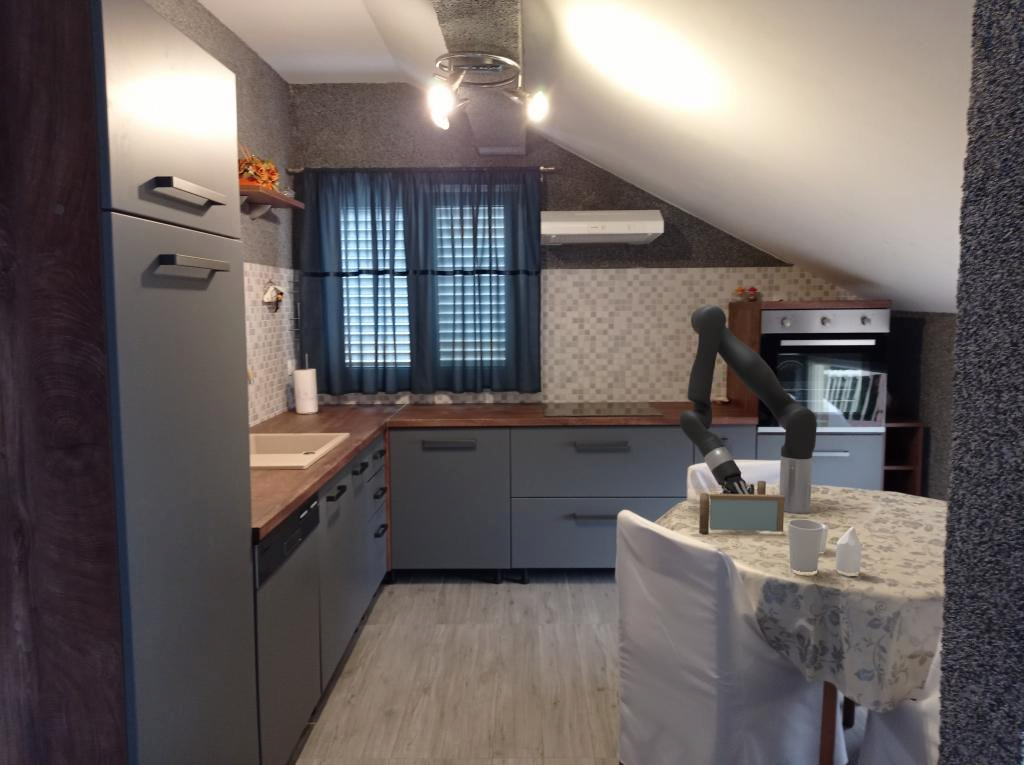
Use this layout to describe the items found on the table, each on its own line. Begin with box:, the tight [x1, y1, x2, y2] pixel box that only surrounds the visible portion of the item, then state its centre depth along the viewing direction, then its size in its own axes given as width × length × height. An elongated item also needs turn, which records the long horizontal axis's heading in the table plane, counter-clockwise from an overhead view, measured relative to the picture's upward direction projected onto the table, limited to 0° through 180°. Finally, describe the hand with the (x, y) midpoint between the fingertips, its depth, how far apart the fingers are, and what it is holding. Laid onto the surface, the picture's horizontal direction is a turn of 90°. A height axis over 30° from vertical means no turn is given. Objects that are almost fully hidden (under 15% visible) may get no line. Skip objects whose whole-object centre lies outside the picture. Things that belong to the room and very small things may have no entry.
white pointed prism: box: [834, 525, 863, 573], centre depth 172 cm, size 6×12×6 cm
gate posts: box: [698, 480, 767, 535], centre depth 207 cm, size 27×3×11 cm, turn 121°
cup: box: [787, 518, 823, 572], centre depth 173 cm, size 8×8×12 cm
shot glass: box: [819, 522, 829, 553], centre depth 187 cm, size 7×7×7 cm
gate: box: [709, 493, 785, 533], centre depth 200 cm, size 20×2×10 cm, turn 84°
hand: (752, 516), depth 201 cm, fingers closed
